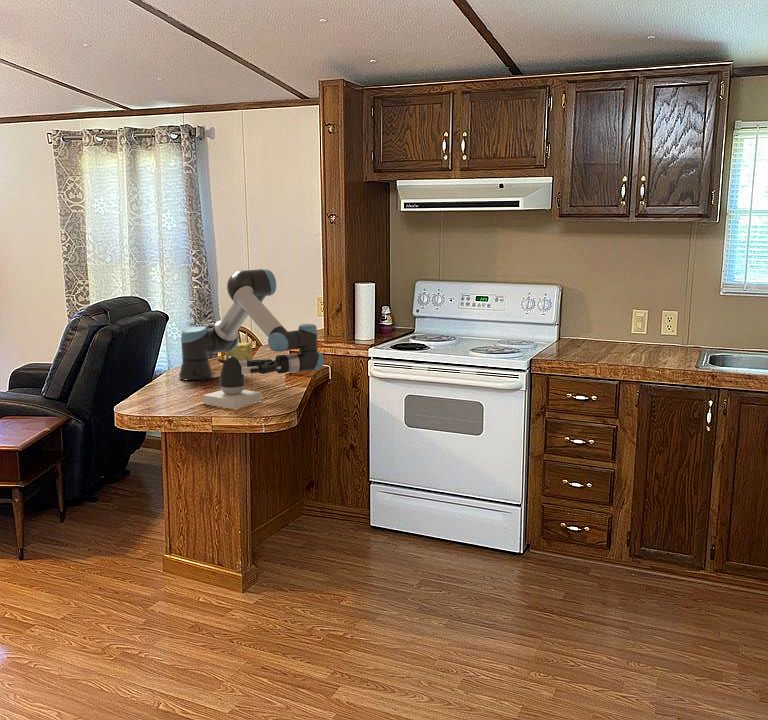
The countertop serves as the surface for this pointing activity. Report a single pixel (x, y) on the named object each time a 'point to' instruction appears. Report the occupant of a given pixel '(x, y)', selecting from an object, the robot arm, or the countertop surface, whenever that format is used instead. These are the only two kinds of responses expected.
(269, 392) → the countertop surface
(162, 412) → the countertop surface
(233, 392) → the dark brown rounded piece
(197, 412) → the countertop surface
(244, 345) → the cheese
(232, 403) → the riser
